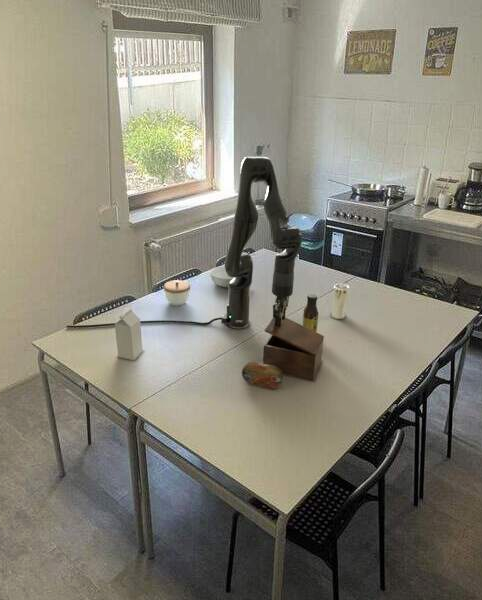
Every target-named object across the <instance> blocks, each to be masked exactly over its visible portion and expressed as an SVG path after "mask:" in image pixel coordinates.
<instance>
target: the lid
mask: <svg viewBox="0 0 482 600" xmlns="http://www.w3.org/2000/svg"><path fill="white" fill-rule="evenodd" d="M283 316H284V312H282V317H283ZM282 317H281V319H282ZM264 332H266V333H268V334H269V335H273V336H275V337H277V338H279V339H281V340H283V341H285V342H288V343H290V344H292V345H294V346H296V347H298V348H300V349H302V350H304V351H306V352H308V353H310V354H312V355H314V356H316V354H317V352H318V349H319V347H320V345H321V342H322V340H323V338H324V339H325V336H324V335H322V334H321V333H318V331H317V332H314V331H312V330H310V329H308V328H306V327H304V326H302V324H300V323H298V322H296V321H293V320H292V319H289V318H288V317H286V316H285V319H284V320H281V326H280V327H278V326H275V318H273V317H272V318H271V320H270V322H269V323H268V325H267V326H266V327H265V329H264ZM323 341H324V340H323Z"/></svg>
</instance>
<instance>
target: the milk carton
mask: <svg viewBox="0 0 482 600" xmlns="http://www.w3.org/2000/svg"><path fill="white" fill-rule="evenodd" d="M118 318H119V320H118V321H116V322H115V323H116V324H115V325H114V330H115V331H114V332H115V341H116V349H117V357H118V358H121V359H125V360H131V361H135V360H136V359H137V358H138V357H139V356H140V355H141V354H142V352H143V341H142V326H141V323H140V321H141V319H140V317H138V315H137V314H136V313H134V311H132V308H129V309H128V310H127V311H126V312H125V313H122V314H120V315H119V316H118Z"/></svg>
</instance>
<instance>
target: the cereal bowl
mask: <svg viewBox="0 0 482 600" xmlns="http://www.w3.org/2000/svg"><path fill="white" fill-rule="evenodd" d="M234 278H235V277H229V276H228V275H227V273H226V271H225V265H222V266H221V265H220V266H216V267H214V268H212V269H211V271H210V279H211V281H212V282H213V283H214V284H215V285H216V286H219V287H222V288H229V282H230V281H231V280H232V279H234Z"/></svg>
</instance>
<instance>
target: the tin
mask: <svg viewBox="0 0 482 600" xmlns="http://www.w3.org/2000/svg"><path fill="white" fill-rule="evenodd" d="M241 376H242V379H243V380H244V381H245V382H246V383H248V385H252V386H256V387H262V388H265V389H266V388H267V389H272V390H273V389H274V390H275V389H278V388H279V387H280V386H282V383H283V380H284V374H283V373H282V371H281V370H280V369H279V368H278V367H276V366H273V365H267V364H263V362H256V361H249V362H248V363H246V364H245V365H244V367H243V368H242V369H241Z"/></svg>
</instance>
